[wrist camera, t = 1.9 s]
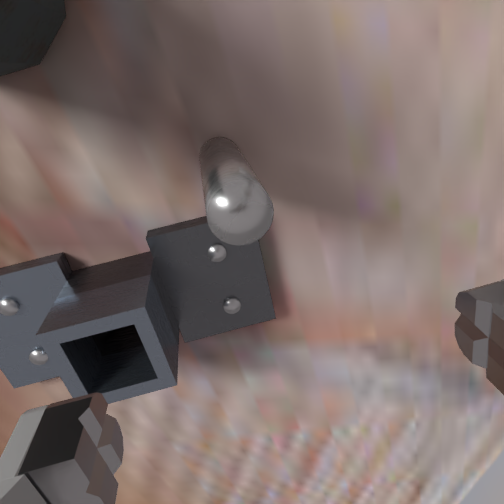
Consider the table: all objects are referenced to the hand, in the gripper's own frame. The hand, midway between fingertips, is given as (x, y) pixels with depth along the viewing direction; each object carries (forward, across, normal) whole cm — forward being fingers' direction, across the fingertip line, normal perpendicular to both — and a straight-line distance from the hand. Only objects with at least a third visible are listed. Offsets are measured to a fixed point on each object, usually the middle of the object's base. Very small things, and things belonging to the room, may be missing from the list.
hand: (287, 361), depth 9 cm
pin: (+21, 0, 0) cm, 21 cm away
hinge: (+22, +10, +9) cm, 25 cm away
